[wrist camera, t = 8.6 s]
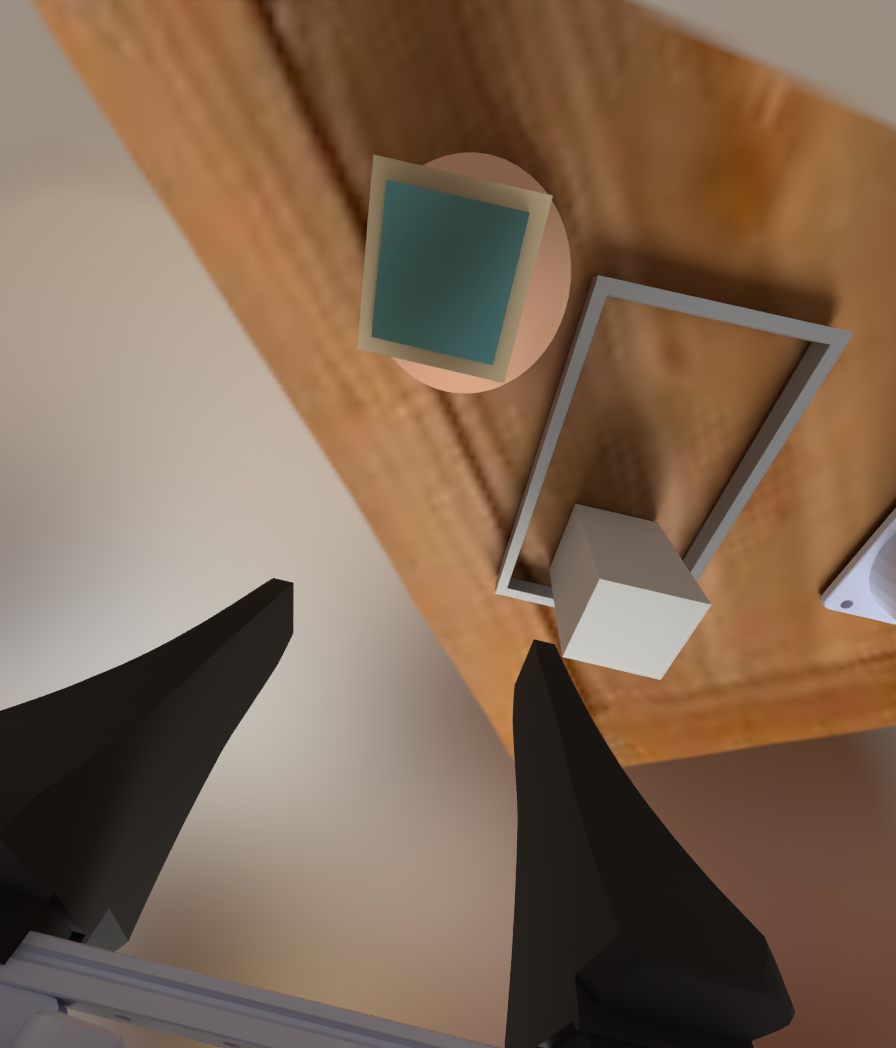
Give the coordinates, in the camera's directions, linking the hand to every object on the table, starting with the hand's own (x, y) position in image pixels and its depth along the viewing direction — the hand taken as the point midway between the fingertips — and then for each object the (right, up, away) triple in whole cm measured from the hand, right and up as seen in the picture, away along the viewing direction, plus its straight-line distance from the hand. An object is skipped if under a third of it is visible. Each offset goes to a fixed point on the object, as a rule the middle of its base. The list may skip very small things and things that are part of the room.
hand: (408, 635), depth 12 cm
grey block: (+9, +2, +9) cm, 12 cm away
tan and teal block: (+2, +12, +3) cm, 12 cm away
